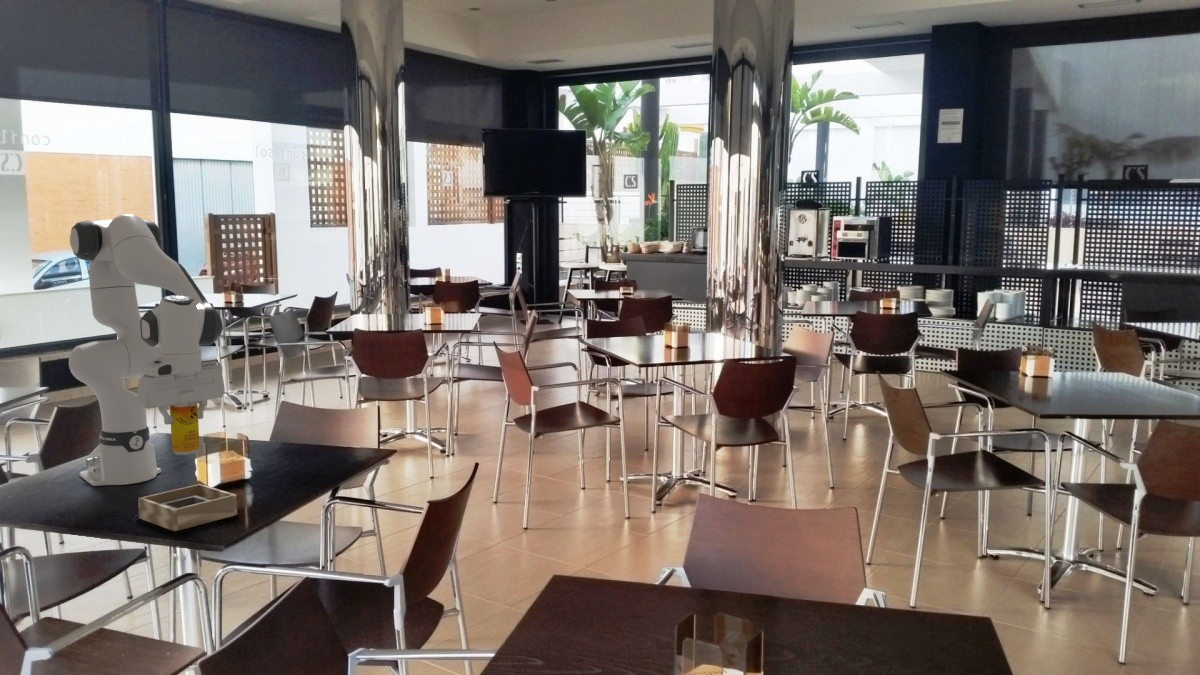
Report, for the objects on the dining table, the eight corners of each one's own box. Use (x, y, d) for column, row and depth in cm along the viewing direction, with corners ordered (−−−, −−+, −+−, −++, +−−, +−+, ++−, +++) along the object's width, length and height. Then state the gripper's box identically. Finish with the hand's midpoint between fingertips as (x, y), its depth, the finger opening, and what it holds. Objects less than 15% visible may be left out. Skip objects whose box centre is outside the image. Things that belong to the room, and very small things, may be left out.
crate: (139, 518, 228) (138, 498, 227) (201, 502, 240) (200, 483, 240) (174, 531, 218) (173, 510, 217) (237, 514, 231) (236, 494, 230)
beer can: (189, 456, 224) (186, 393, 222) (166, 454, 225) (163, 392, 223) (205, 450, 230) (202, 389, 228) (182, 449, 231) (179, 388, 229)
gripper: (214, 358, 235) (216, 412, 237) (132, 367, 219) (135, 426, 220) (228, 360, 231) (231, 416, 233) (146, 370, 215) (149, 430, 217)
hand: (184, 421), depth 226 cm, fingers closed on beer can, 6 cm apart
